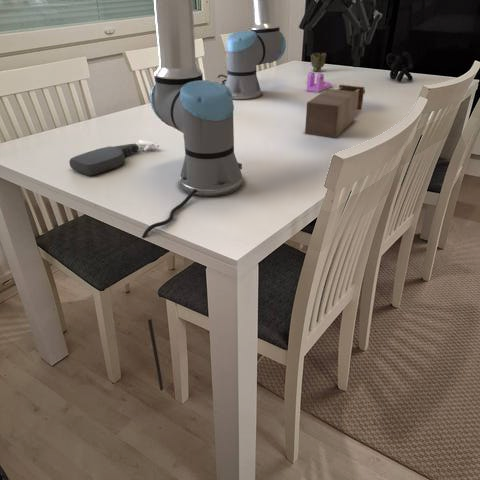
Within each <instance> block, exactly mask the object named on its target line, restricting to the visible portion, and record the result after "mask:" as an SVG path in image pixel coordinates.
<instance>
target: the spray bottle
mask: <svg viewBox="0 0 480 480" xmlns="http://www.w3.org/2000/svg"><path fill="white" fill-rule="evenodd" d="M159 148H160V145H159V144H158V143H155V142H151V141H148V140H144V139H139V140H138V141H137V142H135V143H129V144H128V143H126V144H122V145H113V146H105V147H100V148H97V149H94V150H90V151H87V152H83V153H81V154H78V155H74V156H73V157H70V159H69V161H68V162H69V167H70V168H71V169H72V170H74V171H75V172H78V173H81V174H83V175H85V176H89V177H90V176H91V177H92V176H95V175H99V174H102V173H105V172H107V171H110V170H113V169H116V168H118V167H120V166H122V165H123V164H124V163H125V158H126V156H127V155H131V154H133V153H138V151H140V150H143V151H144V152H146V151H147V150H149V149H159Z"/></svg>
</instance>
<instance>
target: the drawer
mask: <svg viewBox="0 0 480 480" xmlns="http://www.w3.org/2000/svg"><path fill="white" fill-rule="evenodd" d="M336 90H344V91H353V92H357V96H356V104H355V112H357V111H361V110H362V109H363V101H364V96H365V94H366V90H365V86H358V85H348V84H347V85H346V84H339V85H338V88H337V89H336Z"/></svg>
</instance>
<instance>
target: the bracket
mask: <svg viewBox="0 0 480 480" xmlns="http://www.w3.org/2000/svg"><path fill="white" fill-rule="evenodd" d="M315 79H316V81H315ZM324 80H325V75H324V73H321V72H319V73H318V74H317V75H316V74H315V72H313V71H309V72H308V74H307V80H306V91H309V92H316V93H321V92H323V91H325V90H327V89H330V88H331V87H332V82H330V81H324Z"/></svg>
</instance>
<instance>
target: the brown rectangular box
mask: <svg viewBox="0 0 480 480" xmlns="http://www.w3.org/2000/svg"><path fill="white" fill-rule="evenodd" d="M356 96H357V92H353V91H344V90H337V89H334V88H333V89H332V88H327V89H325V90H323V91H321V92H320V93H319V94H317V95H316V96H315V97H313V98H312V99H310V100H308V101H306V113H305V115H306V116H305V129H304V130H305V131H304V134H308V135H313V136H314V135H315V136H320V137H327V138H332V139H333V138H334V139H335V138H337V137H338V136H339V135H341V134H342V132H344V131H345V130H346V129H347V128H348V127H349V126H350V125H352V124H353V122H355V121H354V119H355V114H356V111H355V104H356Z"/></svg>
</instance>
